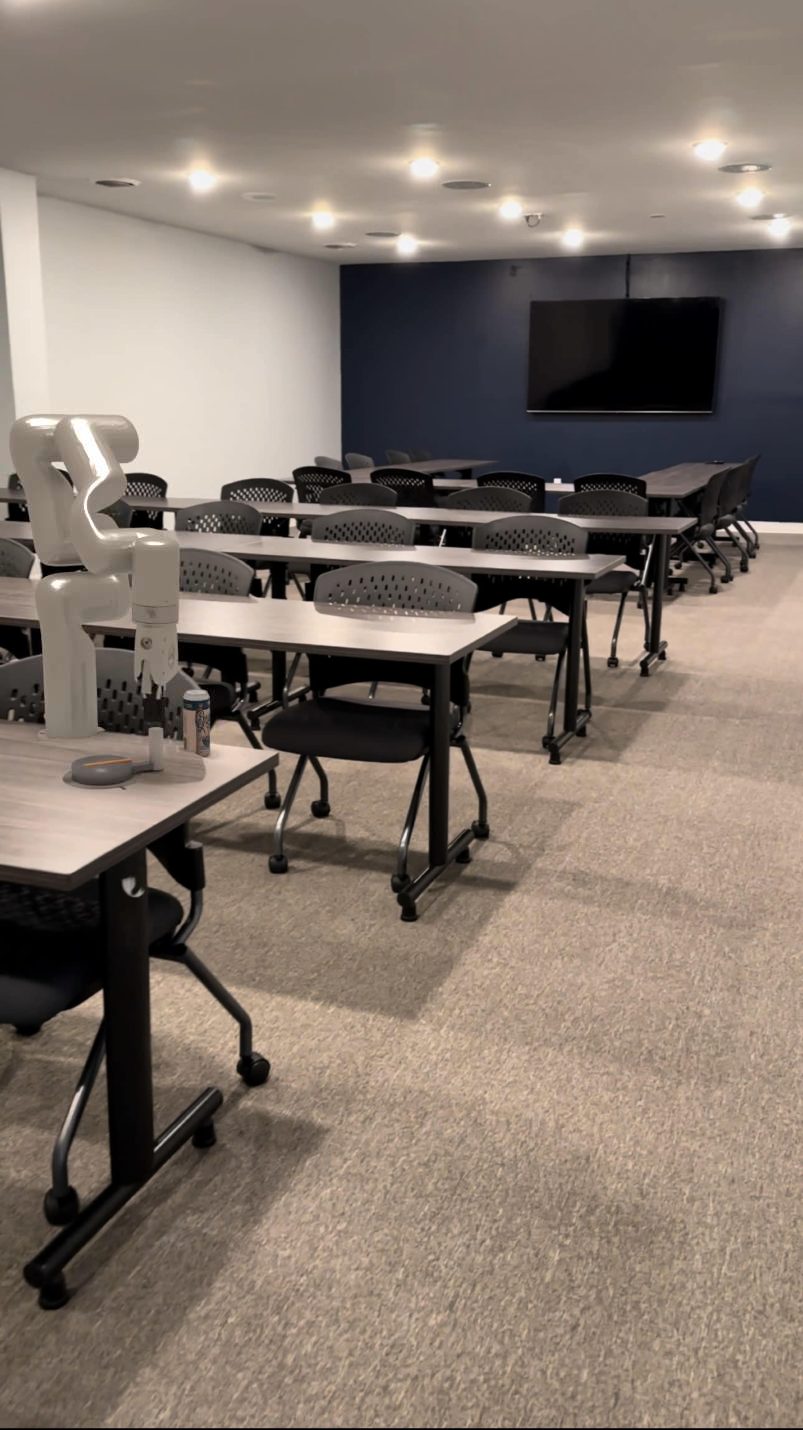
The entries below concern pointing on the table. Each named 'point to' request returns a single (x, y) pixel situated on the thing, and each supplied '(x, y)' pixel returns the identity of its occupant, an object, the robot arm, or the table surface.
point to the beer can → (196, 721)
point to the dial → (118, 763)
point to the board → (70, 781)
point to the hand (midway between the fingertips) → (154, 719)
